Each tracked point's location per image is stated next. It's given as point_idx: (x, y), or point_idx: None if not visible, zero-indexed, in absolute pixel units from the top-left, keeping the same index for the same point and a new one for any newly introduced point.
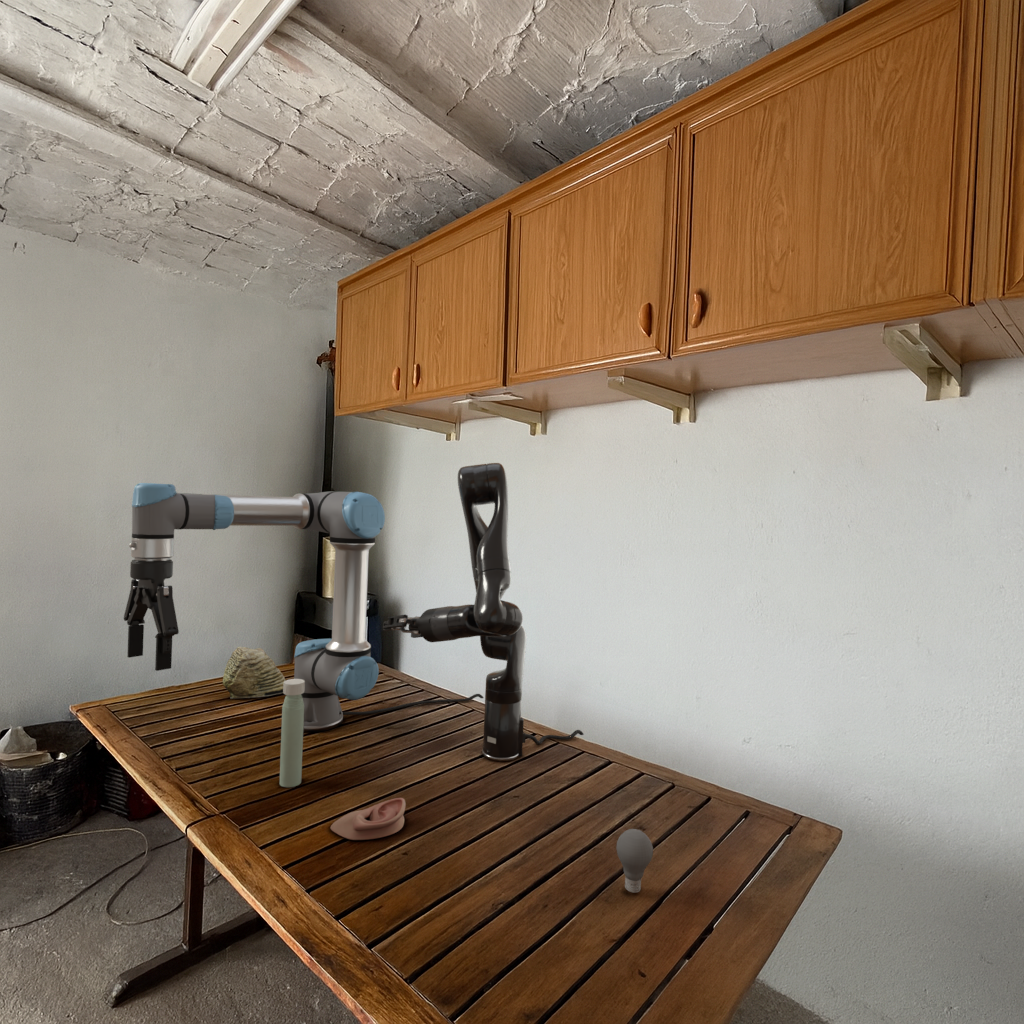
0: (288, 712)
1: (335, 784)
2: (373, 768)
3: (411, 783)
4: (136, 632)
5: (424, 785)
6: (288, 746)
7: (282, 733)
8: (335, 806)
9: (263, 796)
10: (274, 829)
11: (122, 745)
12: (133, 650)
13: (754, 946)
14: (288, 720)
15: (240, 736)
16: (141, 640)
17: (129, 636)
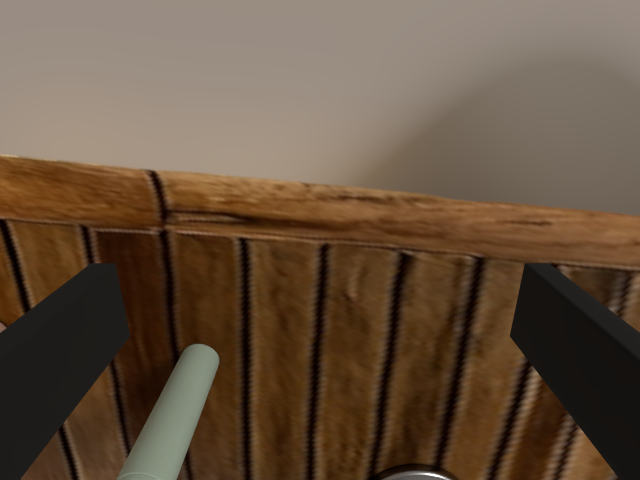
0: (125, 470)
1: (146, 399)
2: None
3: (77, 467)
4: (633, 425)
5: (59, 474)
6: (158, 403)
7: (164, 419)
8: None
9: (179, 307)
10: (50, 263)
11: (621, 229)
12: (541, 309)
13: None
14: (134, 451)
15: (460, 397)
16: (570, 398)
17: (633, 352)
